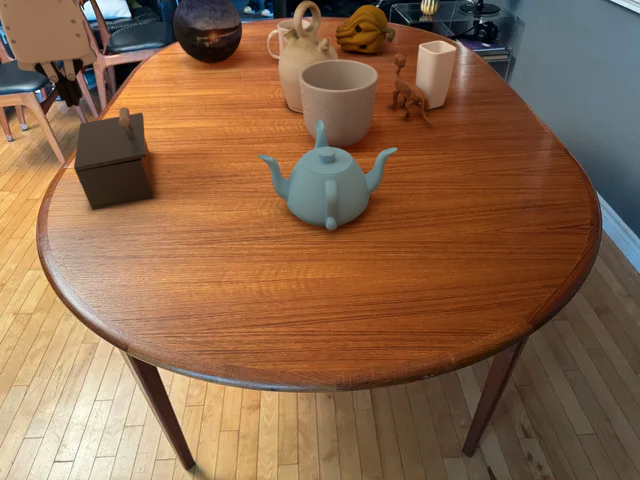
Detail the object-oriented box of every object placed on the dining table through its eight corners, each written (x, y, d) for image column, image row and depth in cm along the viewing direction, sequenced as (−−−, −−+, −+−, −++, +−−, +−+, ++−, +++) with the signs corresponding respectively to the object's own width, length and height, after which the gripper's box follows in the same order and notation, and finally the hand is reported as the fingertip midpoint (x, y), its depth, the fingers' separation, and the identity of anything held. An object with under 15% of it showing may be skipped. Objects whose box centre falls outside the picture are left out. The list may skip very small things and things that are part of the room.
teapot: (317, 169, 100) (316, 116, 92) (392, 199, 91) (398, 144, 83) (263, 209, 90) (256, 154, 82) (342, 248, 81) (343, 190, 73)
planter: (383, 151, 105) (388, 86, 94) (309, 161, 102) (306, 95, 92) (362, 117, 117) (365, 56, 107) (296, 124, 115) (292, 63, 104)
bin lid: (143, 115, 100) (135, 91, 96) (146, 157, 87) (137, 131, 84) (81, 126, 97) (71, 102, 94) (75, 171, 85) (63, 145, 81)
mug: (301, 70, 139) (299, 32, 132) (266, 64, 143) (263, 27, 136) (316, 58, 146) (315, 21, 139) (283, 53, 150) (280, 16, 143)
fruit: (353, 45, 160) (409, 33, 150) (337, 68, 151) (396, 57, 141) (340, 4, 151) (399, -11, 142) (323, 26, 142) (385, 11, 132)
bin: (149, 153, 106) (138, 118, 100) (153, 197, 93) (141, 160, 87) (95, 163, 103) (81, 127, 97) (92, 209, 91) (75, 171, 85)
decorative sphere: (259, 58, 148) (251, -12, 134) (211, 79, 136) (198, 5, 123) (216, 45, 157) (205, -22, 144) (168, 63, 145) (151, -7, 132)
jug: (271, 99, 125) (262, -2, 108) (321, 86, 131) (319, -12, 114) (298, 123, 115) (292, 15, 98) (350, 108, 121) (353, 3, 104)
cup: (449, 107, 120) (459, 49, 110) (425, 113, 118) (434, 54, 108) (432, 96, 125) (440, 39, 115) (409, 102, 123) (416, 44, 113)
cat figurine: (444, 128, 112) (454, 72, 103) (422, 134, 110) (430, 78, 101) (401, 99, 124) (407, 46, 115) (380, 104, 122) (384, 51, 113)
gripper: (86, -39, 65) (123, 87, 77) (-33, -31, 62) (25, 100, 74) (83, -28, 60) (123, 106, 72) (-48, -19, 57) (17, 120, 69)
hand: (74, 102), depth 73 cm, fingers closed
